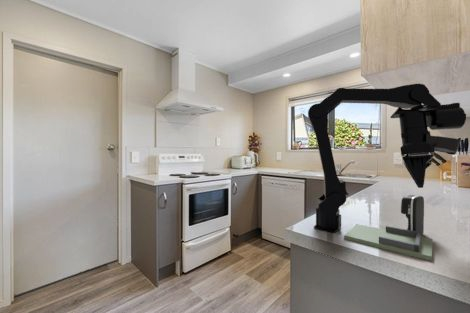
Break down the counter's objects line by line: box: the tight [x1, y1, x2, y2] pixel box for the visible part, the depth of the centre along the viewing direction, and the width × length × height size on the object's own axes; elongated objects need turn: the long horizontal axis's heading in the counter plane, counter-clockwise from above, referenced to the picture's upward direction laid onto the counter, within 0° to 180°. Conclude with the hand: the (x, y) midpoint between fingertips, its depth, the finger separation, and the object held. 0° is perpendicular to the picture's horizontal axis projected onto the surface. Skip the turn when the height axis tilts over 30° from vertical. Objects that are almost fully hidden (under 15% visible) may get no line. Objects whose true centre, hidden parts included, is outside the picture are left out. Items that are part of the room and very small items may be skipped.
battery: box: [400, 194, 425, 235], centre depth 63 cm, size 7×4×11 cm, turn 123°
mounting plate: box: [343, 223, 433, 262], centre depth 58 cm, size 18×13×2 cm
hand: (420, 186), depth 57 cm, fingers open, 9 cm apart
